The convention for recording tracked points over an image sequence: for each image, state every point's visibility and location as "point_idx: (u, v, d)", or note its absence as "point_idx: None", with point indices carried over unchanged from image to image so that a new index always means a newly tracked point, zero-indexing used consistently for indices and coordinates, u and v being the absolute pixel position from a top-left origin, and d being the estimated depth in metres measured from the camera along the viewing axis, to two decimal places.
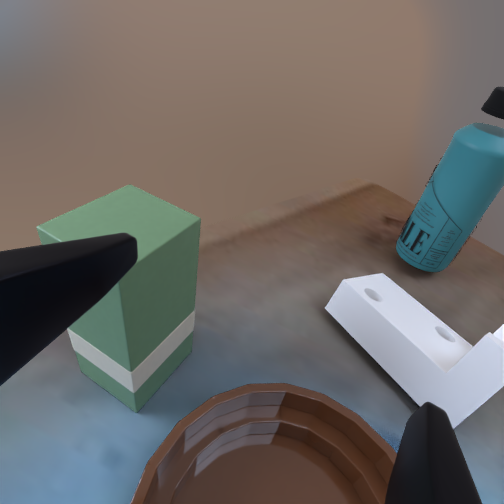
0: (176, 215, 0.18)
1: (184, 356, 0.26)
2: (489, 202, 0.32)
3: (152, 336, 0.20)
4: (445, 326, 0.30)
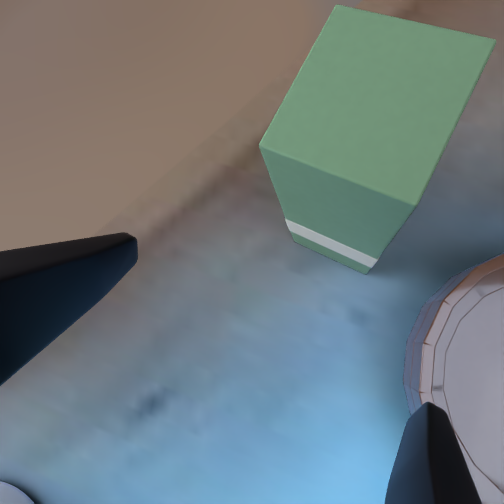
0: (450, 49, 0.11)
1: None
2: None
3: None
4: None
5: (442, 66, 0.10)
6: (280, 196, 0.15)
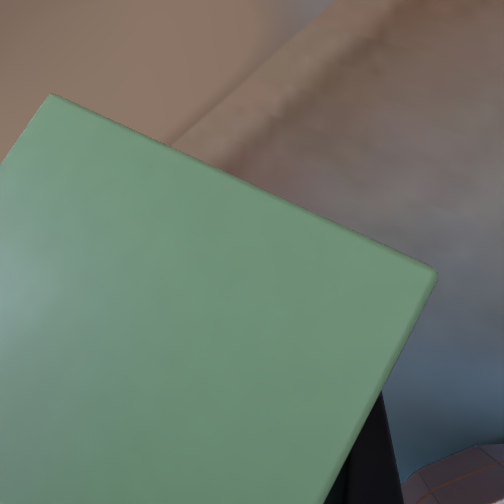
0: (286, 281, 0.03)
1: None
2: None
3: None
4: None
5: (255, 343, 0.03)
6: None
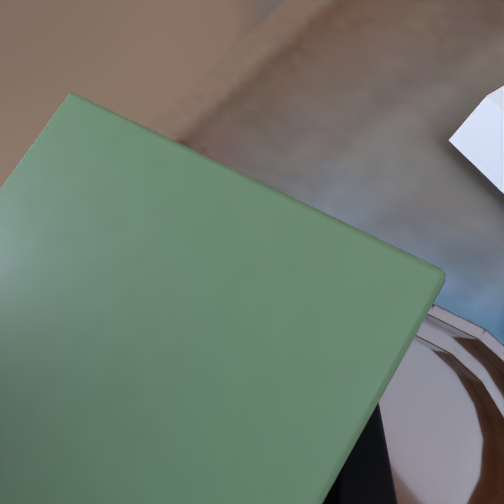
0: (294, 278, 0.03)
1: None
2: None
3: None
4: None
5: (260, 338, 0.03)
6: None
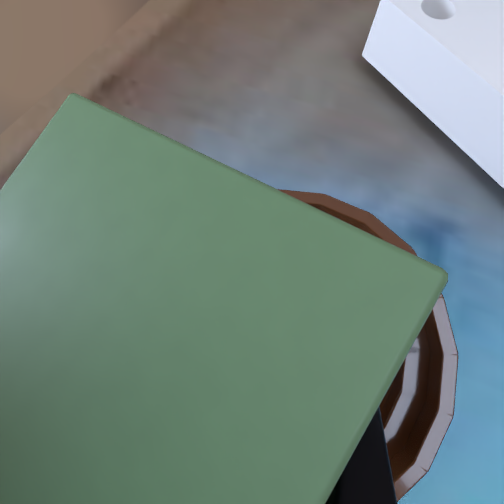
0: (295, 279, 0.03)
1: None
2: None
3: None
4: None
5: (262, 339, 0.03)
6: None
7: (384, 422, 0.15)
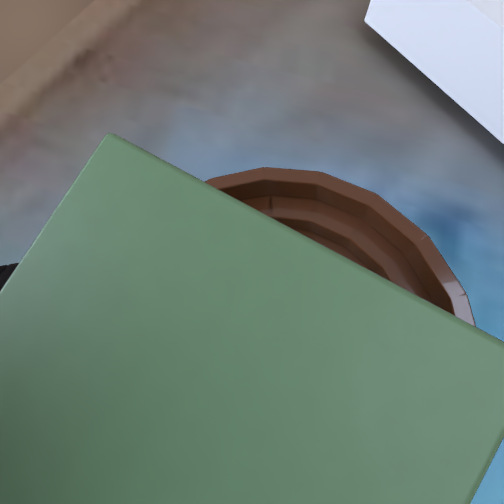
0: (381, 362, 0.03)
1: None
2: None
3: None
4: None
5: (349, 426, 0.03)
6: None
7: None
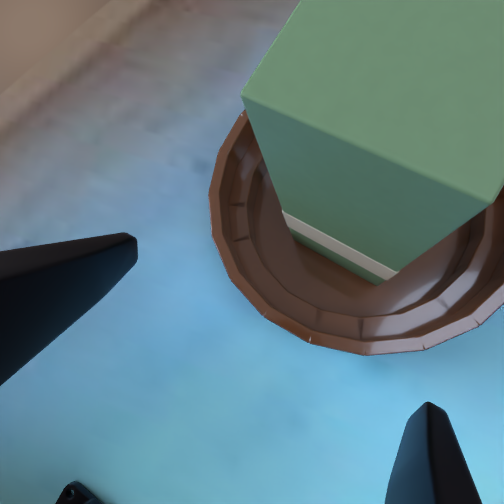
0: None
1: None
2: None
3: None
4: None
5: None
6: (275, 180, 0.11)
7: (467, 265, 0.16)
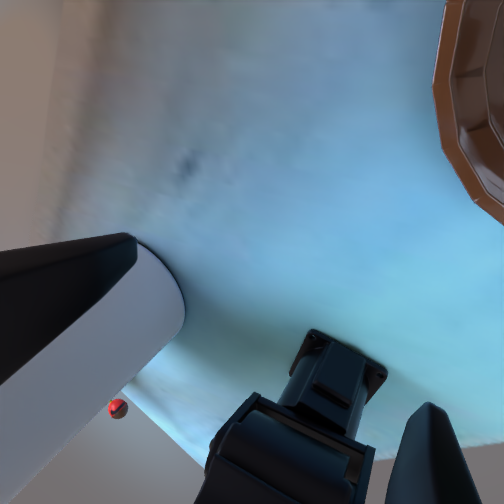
0: None
1: None
2: None
3: None
4: None
5: None
6: None
7: None
